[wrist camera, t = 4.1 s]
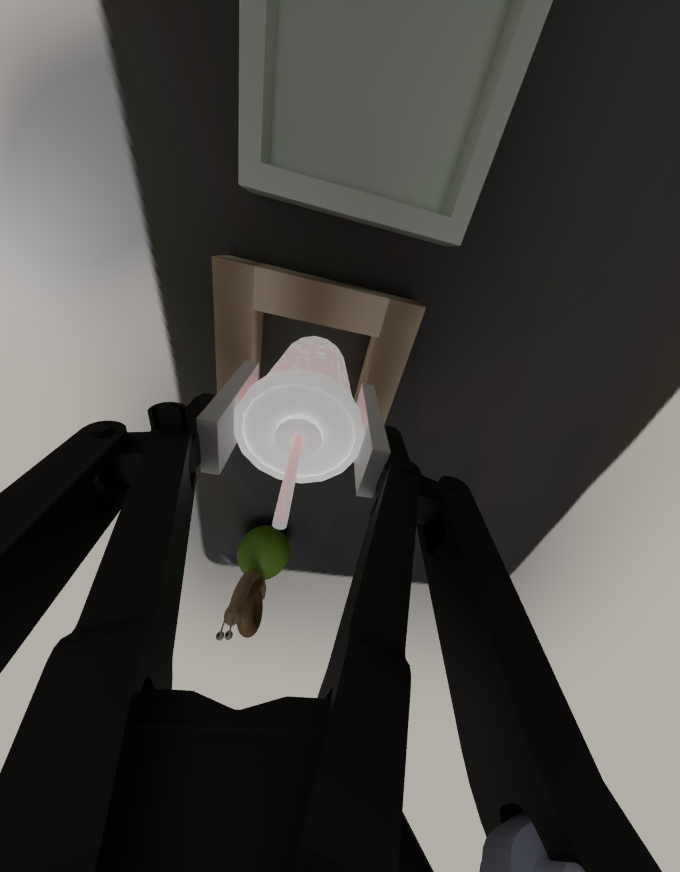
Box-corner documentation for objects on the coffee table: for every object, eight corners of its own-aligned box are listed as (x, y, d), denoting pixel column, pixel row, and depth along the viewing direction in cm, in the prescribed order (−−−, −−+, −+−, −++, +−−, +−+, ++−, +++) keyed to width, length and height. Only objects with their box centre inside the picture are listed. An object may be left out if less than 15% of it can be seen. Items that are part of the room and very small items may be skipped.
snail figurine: (284, 506, 30) (258, 636, 20) (296, 542, 33) (279, 667, 23) (235, 511, 30) (185, 640, 20) (253, 546, 34) (217, 670, 24)
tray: (573, -117, 10) (631, -209, 8) (445, 246, 17) (460, 245, 15) (263, -266, 9) (241, -421, 7) (251, 193, 15) (238, 184, 13)
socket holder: (414, 300, 18) (425, 307, 16) (366, 442, 25) (370, 463, 22) (230, 255, 17) (211, 255, 14) (231, 419, 23) (218, 439, 21)
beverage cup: (255, 364, 20) (140, 519, 9) (314, 303, 18) (267, 404, 6) (313, 418, 23) (286, 593, 11) (372, 371, 20) (413, 530, 9)
